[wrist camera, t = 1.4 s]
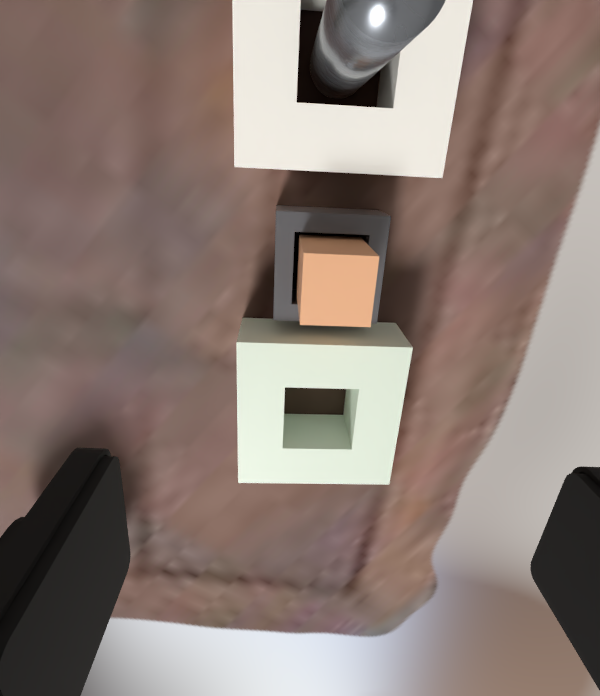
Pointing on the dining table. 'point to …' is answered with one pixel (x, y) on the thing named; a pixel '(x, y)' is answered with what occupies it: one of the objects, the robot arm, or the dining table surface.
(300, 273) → the key
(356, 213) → the key housing
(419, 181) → the dining table surface
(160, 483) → the dining table surface
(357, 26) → the peg
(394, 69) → the socket block
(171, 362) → the dining table surface
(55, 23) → the dining table surface
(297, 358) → the white square holder
